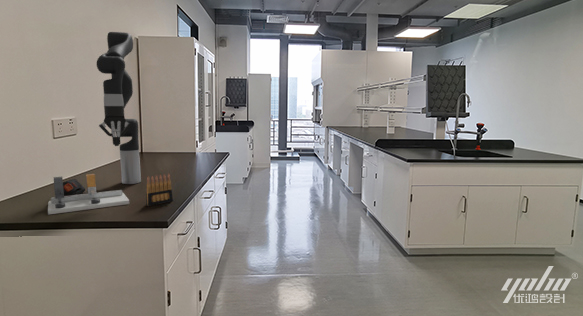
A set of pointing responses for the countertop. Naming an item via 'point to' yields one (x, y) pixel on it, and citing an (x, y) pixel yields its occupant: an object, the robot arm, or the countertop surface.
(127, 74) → the robot arm
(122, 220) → the countertop surface
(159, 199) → the ammunition clip
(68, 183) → the battery
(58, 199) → the rail and fixed leg
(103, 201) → the hole plate
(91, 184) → the block
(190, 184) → the countertop surface
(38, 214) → the countertop surface
